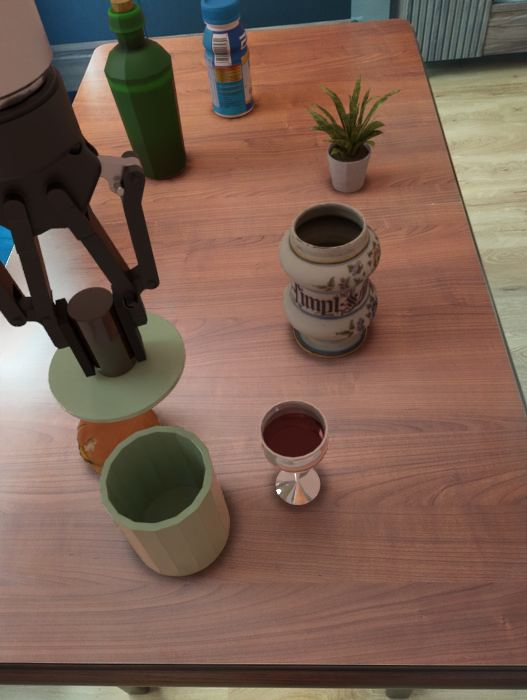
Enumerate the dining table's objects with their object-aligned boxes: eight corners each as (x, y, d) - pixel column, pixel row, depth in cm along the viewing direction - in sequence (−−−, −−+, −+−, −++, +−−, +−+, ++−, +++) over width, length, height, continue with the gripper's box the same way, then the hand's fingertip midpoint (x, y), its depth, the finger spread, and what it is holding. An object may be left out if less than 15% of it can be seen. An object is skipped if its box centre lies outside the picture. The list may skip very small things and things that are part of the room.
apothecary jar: (308, 287, 84) (304, 181, 70) (388, 311, 80) (401, 204, 66) (269, 347, 77) (256, 244, 63) (354, 377, 73) (360, 274, 59)
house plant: (375, 147, 104) (381, 54, 91) (410, 191, 95) (423, 95, 82) (299, 167, 102) (295, 75, 89) (329, 214, 93) (329, 119, 81)
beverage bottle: (204, 109, 117) (185, 1, 101) (236, 92, 120) (222, -15, 104) (231, 124, 113) (216, 13, 97) (263, 106, 116) (253, -4, 100)
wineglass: (255, 478, 66) (244, 422, 56) (303, 446, 68) (299, 387, 59) (291, 525, 62) (285, 473, 53) (341, 489, 64) (343, 433, 55)
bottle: (200, 151, 108) (168, -17, 86) (182, 187, 101) (142, 15, 79) (146, 148, 110) (101, -17, 88) (126, 183, 104) (72, 14, 82)
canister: (115, 548, 62) (76, 499, 52) (169, 468, 68) (142, 410, 58) (197, 594, 58) (171, 551, 49) (247, 506, 64) (233, 451, 54)
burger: (178, 424, 71) (170, 403, 68) (138, 490, 66) (127, 472, 63) (111, 400, 74) (100, 379, 71) (68, 462, 69) (53, 442, 66)
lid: (25, 397, 49) (-21, 334, 43) (108, 304, 55) (79, 236, 49) (135, 448, 45) (103, 387, 39) (212, 342, 51) (195, 274, 45)
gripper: (-194, 158, 27) (16, 422, 45) (153, 76, 29) (221, 361, 47) (-168, 86, 32) (13, 352, 50) (130, 19, 34) (200, 299, 52)
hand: (114, 356), depth 49 cm, fingers closed on lid, 4 cm apart
